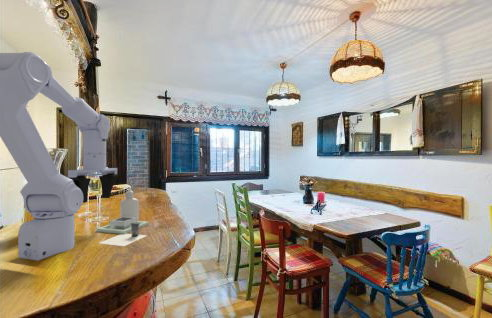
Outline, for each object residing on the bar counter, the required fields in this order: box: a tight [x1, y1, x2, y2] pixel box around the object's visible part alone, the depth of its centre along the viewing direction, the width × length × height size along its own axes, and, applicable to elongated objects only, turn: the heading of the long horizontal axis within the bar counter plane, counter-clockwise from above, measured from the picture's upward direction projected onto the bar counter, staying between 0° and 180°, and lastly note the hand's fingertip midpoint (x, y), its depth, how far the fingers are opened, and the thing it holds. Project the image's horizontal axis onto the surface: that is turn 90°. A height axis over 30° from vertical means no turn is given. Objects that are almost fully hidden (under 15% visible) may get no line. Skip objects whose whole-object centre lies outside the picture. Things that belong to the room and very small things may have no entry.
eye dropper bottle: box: [120, 187, 140, 220], centre depth 81 cm, size 4×6×12 cm
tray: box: [96, 220, 150, 235], centre depth 71 cm, size 10×10×2 cm
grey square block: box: [108, 216, 139, 230], centre depth 71 cm, size 5×5×3 cm
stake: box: [131, 223, 140, 237], centre depth 63 cm, size 2×2×3 cm
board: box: [98, 233, 147, 247], centre depth 61 cm, size 8×8×1 cm
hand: (95, 200), depth 69 cm, fingers open, 7 cm apart
